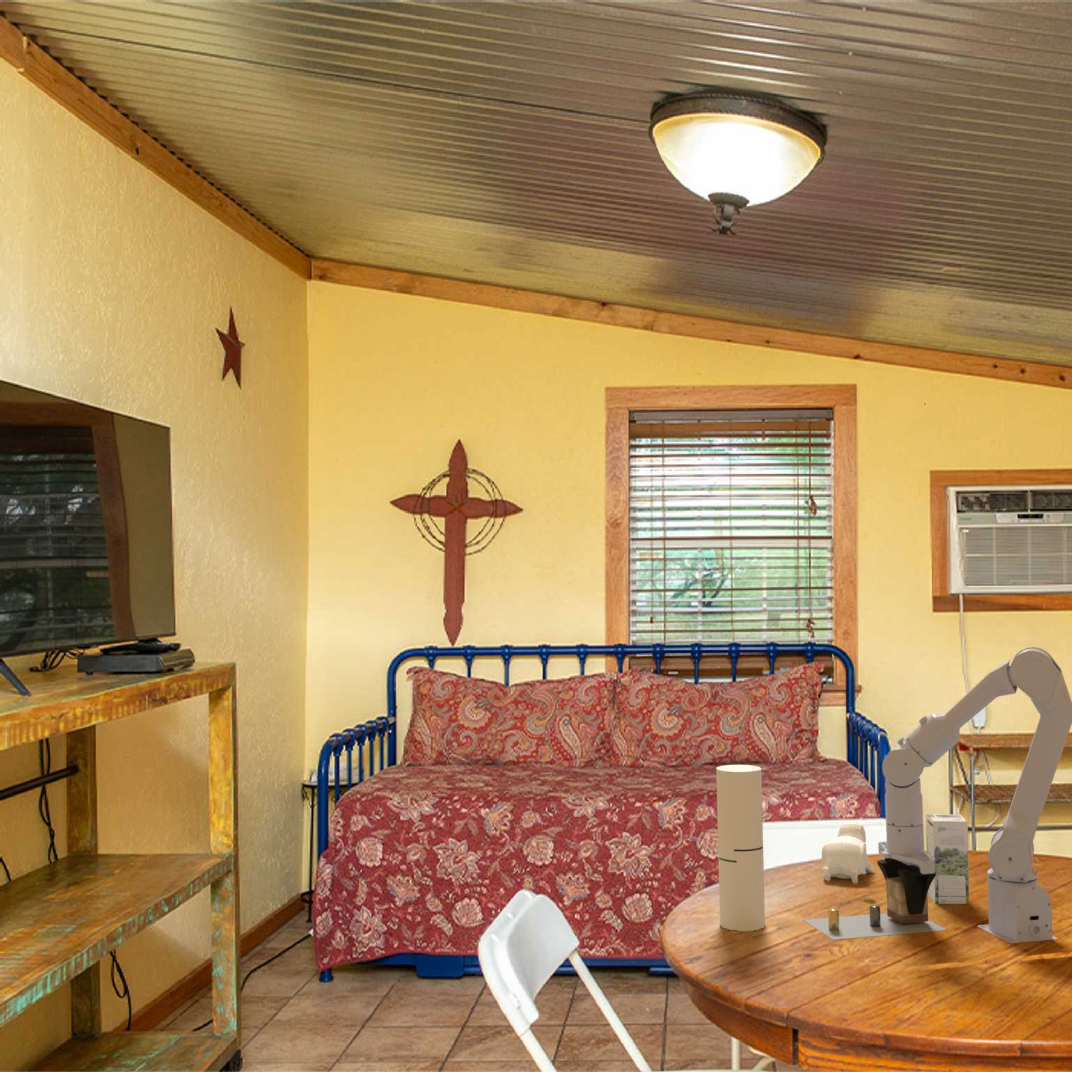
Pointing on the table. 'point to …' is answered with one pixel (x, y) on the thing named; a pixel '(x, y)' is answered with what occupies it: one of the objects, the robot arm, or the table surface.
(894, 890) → the sleeve
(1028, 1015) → the table surface
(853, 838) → the white animal figurine
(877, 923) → the steel pin
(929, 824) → the syrup box
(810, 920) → the board
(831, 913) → the brass pin
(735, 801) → the cylindrical container
